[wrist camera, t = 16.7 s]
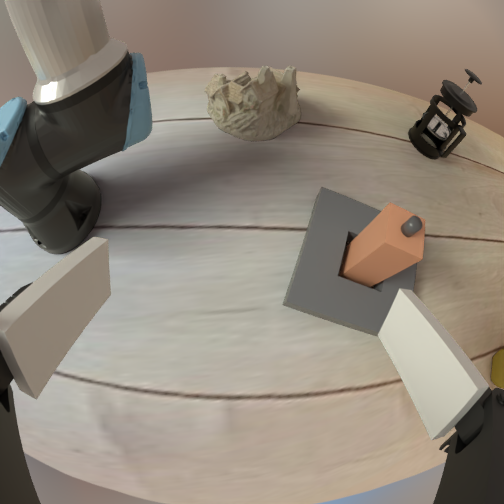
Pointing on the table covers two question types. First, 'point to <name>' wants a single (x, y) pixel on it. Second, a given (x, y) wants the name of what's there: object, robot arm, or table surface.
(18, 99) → the robot arm
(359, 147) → the table surface
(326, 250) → the socket
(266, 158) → the table surface
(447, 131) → the french press
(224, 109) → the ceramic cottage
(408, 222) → the plug
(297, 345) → the table surface
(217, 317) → the table surface
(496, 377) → the flower pot
